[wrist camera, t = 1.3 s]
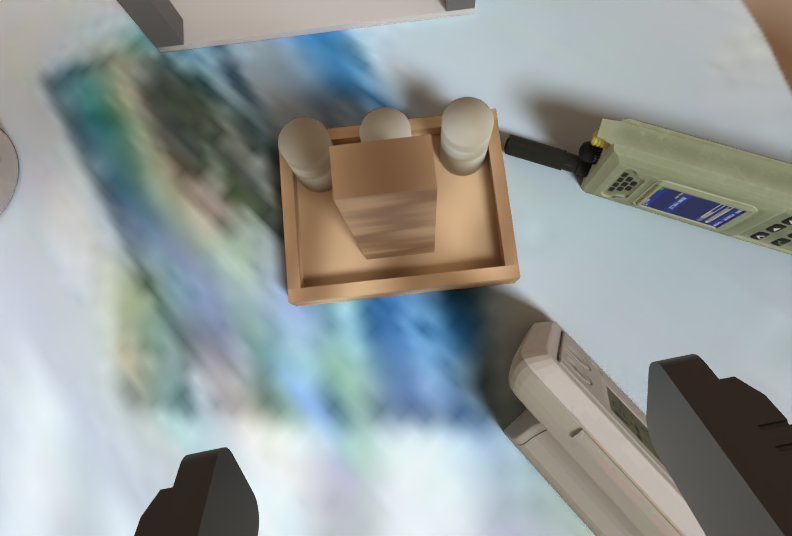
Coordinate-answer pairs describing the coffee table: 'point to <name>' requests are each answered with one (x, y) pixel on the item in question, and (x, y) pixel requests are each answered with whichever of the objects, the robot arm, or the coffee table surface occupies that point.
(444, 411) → the coffee table surface
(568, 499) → the digital clock
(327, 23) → the grey stool
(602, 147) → the handheld radio
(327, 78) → the coffee table surface
